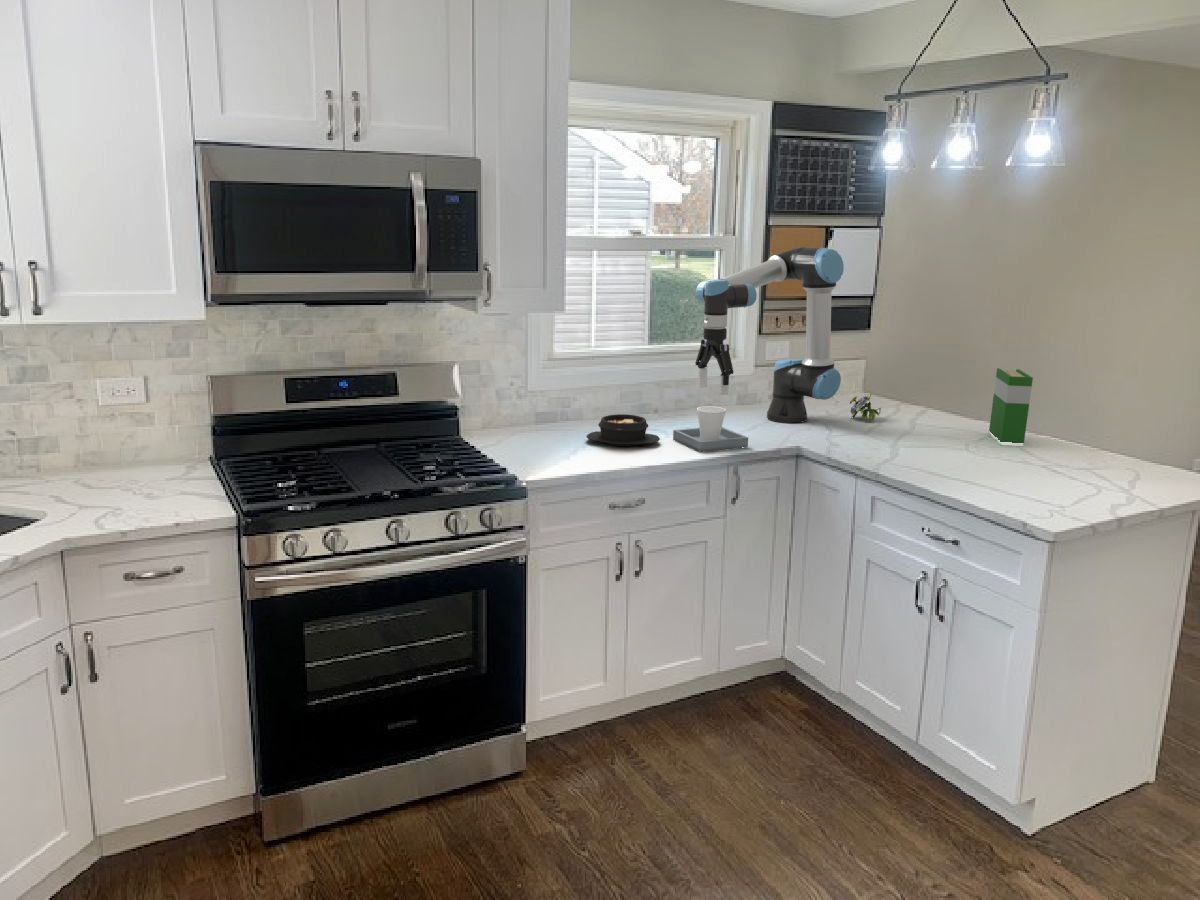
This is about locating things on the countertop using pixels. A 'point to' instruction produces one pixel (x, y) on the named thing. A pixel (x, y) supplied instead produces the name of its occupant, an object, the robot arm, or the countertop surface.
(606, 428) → the casserole
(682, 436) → the tray
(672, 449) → the countertop surface
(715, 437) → the cup
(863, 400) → the passion flower
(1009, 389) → the hardback book
